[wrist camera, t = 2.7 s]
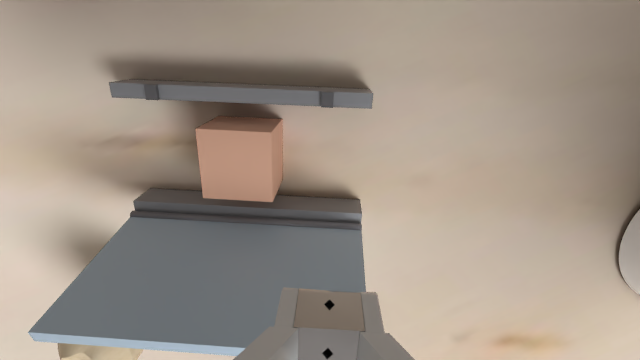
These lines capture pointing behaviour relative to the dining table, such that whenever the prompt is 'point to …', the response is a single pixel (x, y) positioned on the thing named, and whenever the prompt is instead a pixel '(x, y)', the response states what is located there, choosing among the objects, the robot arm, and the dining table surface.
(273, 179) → the block
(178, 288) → the cover
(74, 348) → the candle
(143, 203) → the grey rail
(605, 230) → the dining table surface
